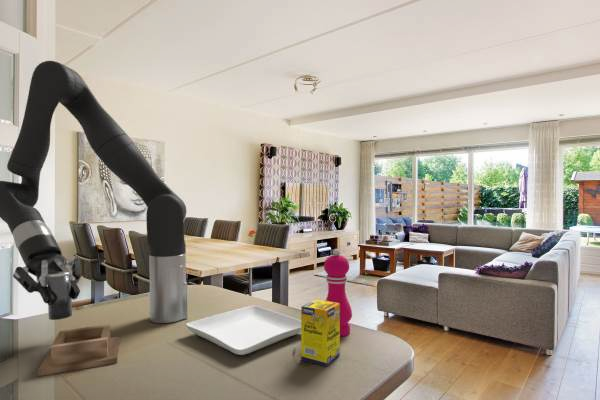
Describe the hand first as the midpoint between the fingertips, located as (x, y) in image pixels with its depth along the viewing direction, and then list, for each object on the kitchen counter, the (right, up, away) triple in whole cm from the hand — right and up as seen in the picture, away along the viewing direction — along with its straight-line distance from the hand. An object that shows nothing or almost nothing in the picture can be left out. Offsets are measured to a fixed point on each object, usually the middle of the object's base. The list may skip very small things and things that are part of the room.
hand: (64, 299), depth 84 cm
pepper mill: (+62, -9, +5) cm, 63 cm away
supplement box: (+57, -10, -9) cm, 59 cm away
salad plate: (+41, -10, +4) cm, 42 cm away
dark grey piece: (-2, -4, +1) cm, 5 cm away
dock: (+9, -10, -8) cm, 15 cm away
